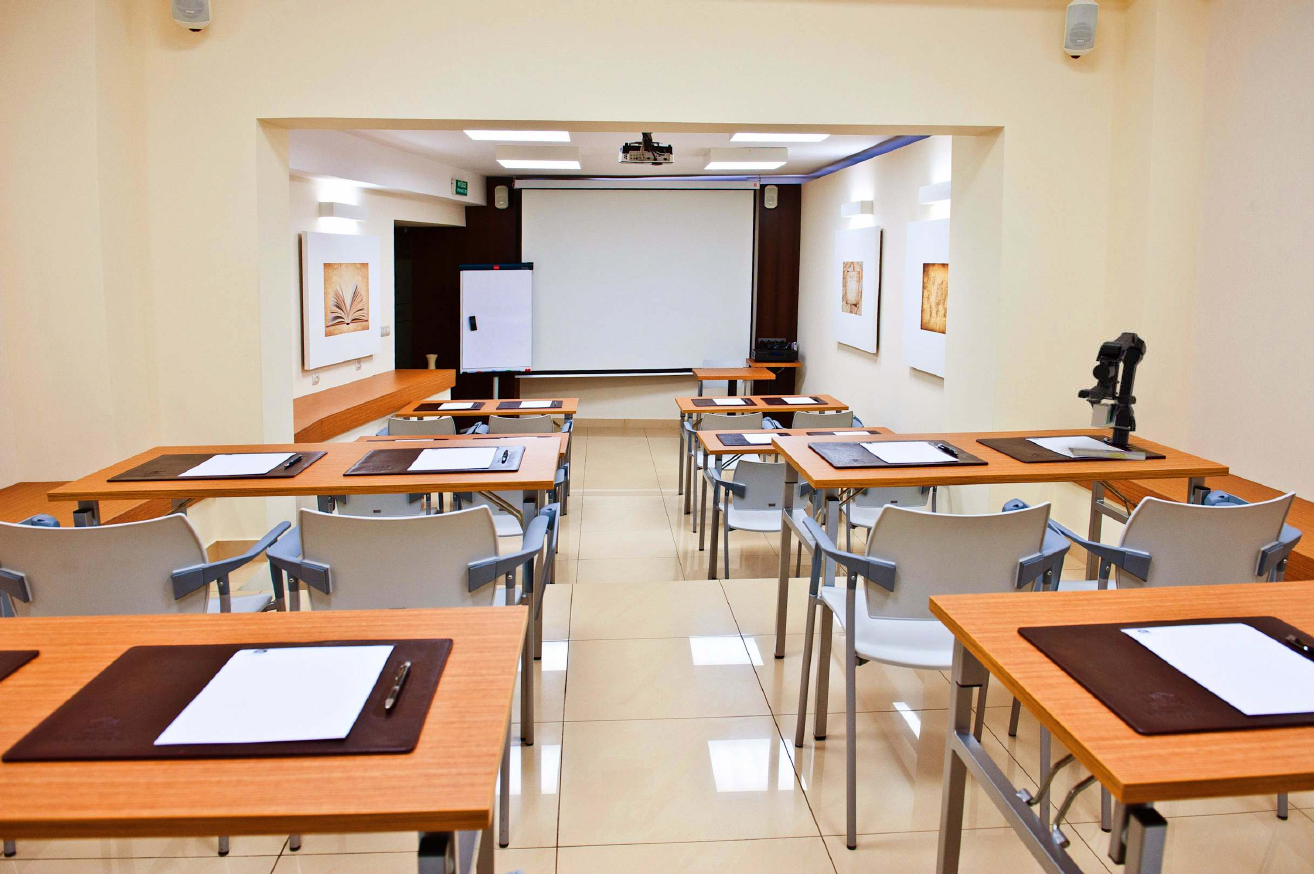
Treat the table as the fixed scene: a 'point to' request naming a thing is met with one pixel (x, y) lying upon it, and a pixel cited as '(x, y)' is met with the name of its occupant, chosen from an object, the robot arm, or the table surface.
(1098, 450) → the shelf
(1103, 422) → the tea box
